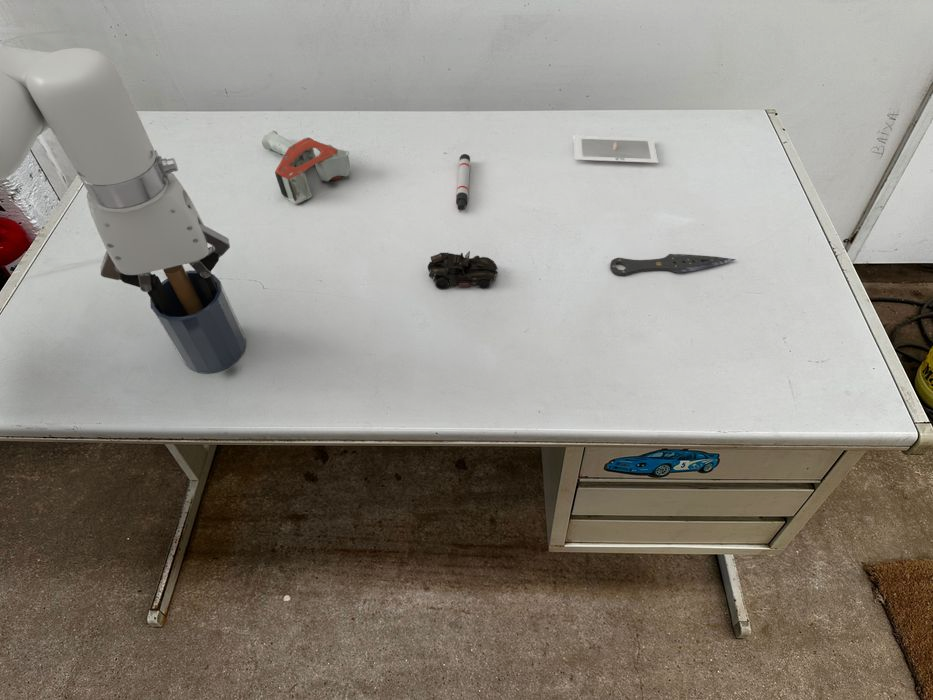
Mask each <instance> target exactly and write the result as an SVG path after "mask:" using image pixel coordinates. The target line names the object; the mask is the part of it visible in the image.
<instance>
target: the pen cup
mask: <svg viewBox="0 0 933 700" xmlns="http://www.w3.org/2000/svg"><path fill="white" fill-rule="evenodd" d="M185 271H186V273H187V275H188V277H189V279H190V281H191V283H192V285H193V287H194V289H195V291H196V293H197V295H198V297H199V299H200V301H201V303H202V305H203V307H204V309H203V310H201V311H199V312H197V313H195V314H192V315H187V313H186V311H185V309H184V308H183V306H182V304H181V302H180V300H179V298H178V297H177V295H176V293H175V291H174V289H173V287H172V286H171V284H170V282H169V280H168V278H167V277H166V279H163V280H162V281H161V283H162V284H163V286H164V288H165V290H166V292H167V293H168V295H169V302H170V311H169V313H165V314H164V313H163V311H162V309H161V307H160V306H159V305H156V306H155V305H154V303H153V301H152V300H151V298H150V297H149V301H150V302H149V303H150V310H151V311H152V313H153V314H154V316H155V318H156V319H157V321H158V322H159V324H160V325H161V327H162V329H163V331H164V332H165V334H166V336H167V337H168V339H169V341H170V342H171V345H173V347H174V349H175V350H176V352H177V354H178V356H179V357H180V359H181V361H182V362H183V363H184V364H185V366H186V367H187V368H189V369H190V370H191V371H193V372H195V373H198V374H214V373H218V372H222V371H224V370H226V369H229V368H230V367H232V366H233V365H235V364H236V363H238V361H239V360H240V359H241V357H243V355H244V353H245V352H246V351H245V350H246V347H247V339H246V335H245V333H244V331H243V329H242V326H241V324H240V321H239V320H238V317H237V315H236V313H235V311H234V308H233V306H232V303H231V302H230V300H229V298H228V295H227V293H226V291H225V288H224V286H223V284H222V282H221V280H220V279H219V278H218V277H217V276H216V274H213V273H211V274H212V276H213V278H214V280H215V283H216V286H217V291H213V295H214V300H213V301H212V302H210V301H209V302H208V301H207V298H206V296H205V294H204V292H203V290H202V288H201V286H200V284H199V282H198V276H197V272H196V271H195V270H194V269H191V270H185Z"/></svg>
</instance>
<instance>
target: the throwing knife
mask: <svg viewBox="0 0 933 700" xmlns="http://www.w3.org/2000/svg"><path fill="white" fill-rule="evenodd" d="M733 261H737V258H729V257H721V256H713V255H703V254H702V255H701V254H685V253H668V254H667V255H666V256H664V257H659V258H652V259H651V258H649V259H632V258H624V257H616V258H613V259H611V261H610V265H609V269H610V271H611V272H612V274H614V275H616V276H619V277H625V276H628V275H631V274H635V273H640V272H647V271H670V272H674V273H676V274H682V273H688V272H693V271H698V270H703V269H707V268H711V267H715V266H720V265H723V264H727V263H730V262H733ZM619 264H620V265H622V266H624V267H625V268H624V269H619V268H618V267H617V266H616V265H619Z"/></svg>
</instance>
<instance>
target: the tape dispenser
mask: <svg viewBox="0 0 933 700" xmlns="http://www.w3.org/2000/svg"><path fill="white" fill-rule="evenodd" d="M261 144H262V147H263V149H265V150H271V151H273V152H275V153H278V154H280V155H282V156H283V157H282V158H281V161H279V164H278V165H277V167H276V169H275V172H274V174H275V177H276V181H277V183H278V187H279V190H280V193H281V195H282V196H283V197H284V199H286V200H288V202H291V203H292V204H293V205H299V204H300V203H303V202H304V201H307V200H309V199H310V198H311V197H312V193H311V189H310V187H309V183H308V181H307V175H306V173H305V172H306V171H307V170H308V169H310V168H312V167H313V166H315V170H316V173H317V176H318V177H319V179H320V180H321V181H324V182H329V181H330V180H333V181H337V180H338V179H339V180H340V178H341V177H348V176H349V175H350V173H351V161H350V157H349V156H350V152H349V150H343V149H339V148H336V147H334V146H333V145H332V144H325V143H322V142H319V141H317V140H314V139H313V138H311V137H304V138H303V139H300V140H299V141H297V142H293V141H291V140H290V139H288V138H286V137H284V136H283V135H282V136H281V135H280V134H279V133H278V132H277V130H271V131H269V132H268V133H266V134H265V135H263V137H262V139H261ZM314 149H316V150H317V151H318V152H319V154H318V155H317V156H316V154H315V150H314Z"/></svg>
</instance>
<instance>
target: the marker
mask: <svg viewBox="0 0 933 700" xmlns="http://www.w3.org/2000/svg"><path fill="white" fill-rule="evenodd" d="M458 162H459V163H458V172H457V183H456V196H455V204H456V205H457V209H458V210H459V212H460V213H461V212H462V211H464V210H465V209H466V206H467V205H468V200H469V187H470V186H469V185H470V173H471V172H470V171H471V170H470V169H471V156H470V155H469V154H467V153H463V154H461V155H460V156H459V161H458Z"/></svg>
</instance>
